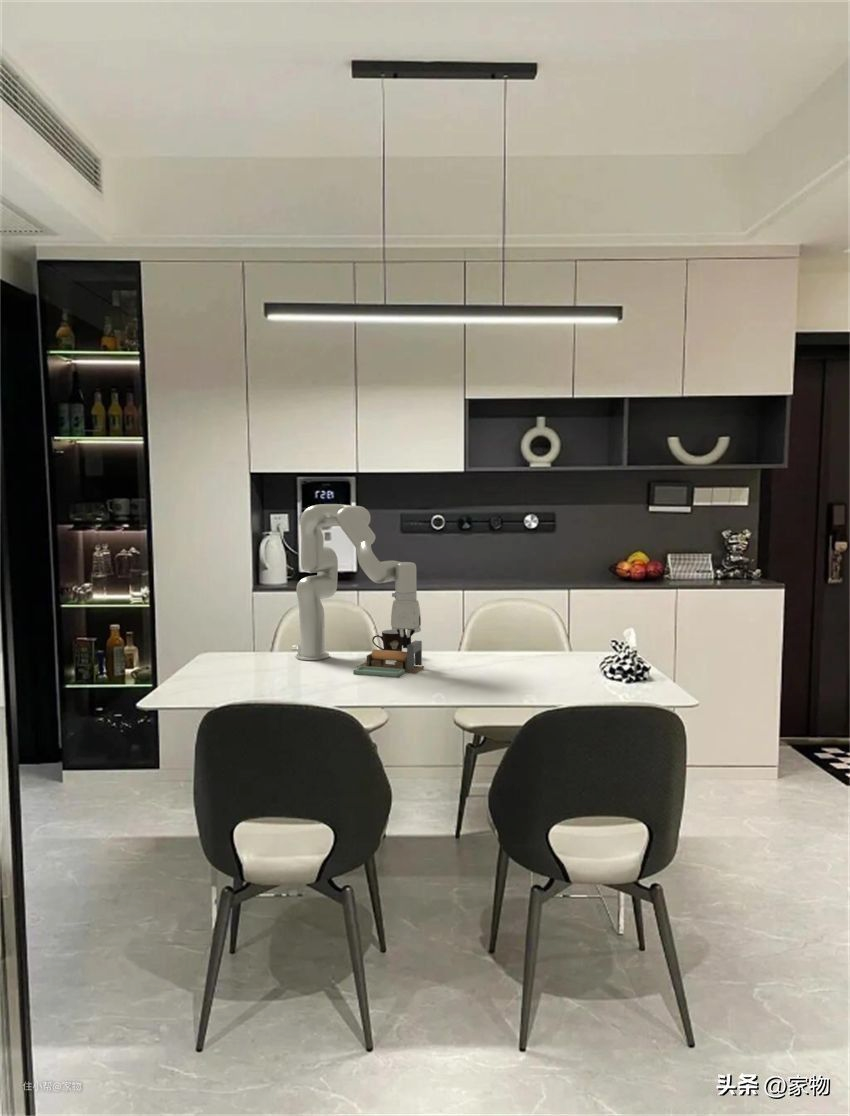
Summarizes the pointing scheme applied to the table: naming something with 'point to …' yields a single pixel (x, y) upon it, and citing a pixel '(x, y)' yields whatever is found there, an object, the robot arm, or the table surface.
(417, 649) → the grey bracket
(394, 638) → the coffee mug
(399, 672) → the felt tray
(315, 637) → the robot arm
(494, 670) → the table surface
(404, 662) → the block
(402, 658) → the tan rounded-end block
